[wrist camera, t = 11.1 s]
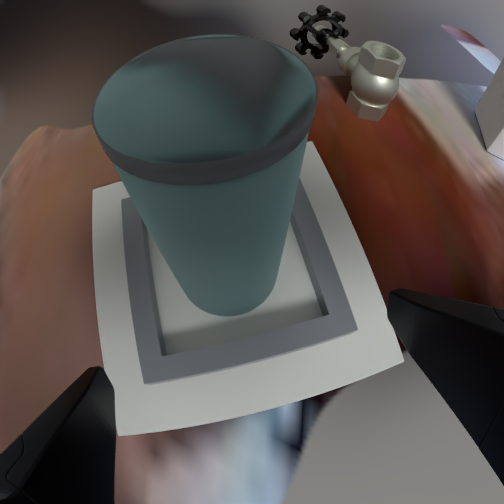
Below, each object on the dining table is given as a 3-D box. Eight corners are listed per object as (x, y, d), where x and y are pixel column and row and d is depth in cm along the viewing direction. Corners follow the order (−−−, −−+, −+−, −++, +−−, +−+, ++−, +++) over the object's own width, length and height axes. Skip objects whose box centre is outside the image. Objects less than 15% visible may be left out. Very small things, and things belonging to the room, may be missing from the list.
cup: (290, 303, 17) (358, 140, 6) (188, 328, 16) (83, 198, 5) (263, 215, 19) (276, 26, 8) (171, 236, 19) (102, 59, 8)
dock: (396, 363, 16) (414, 358, 14) (125, 434, 15) (109, 438, 13) (310, 150, 23) (314, 129, 21) (97, 197, 21) (86, 179, 19)
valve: (404, 119, 25) (338, 53, 30) (428, 65, 19) (348, 5, 24) (348, 129, 24) (286, 58, 29) (368, 66, 18) (291, 5, 23)
